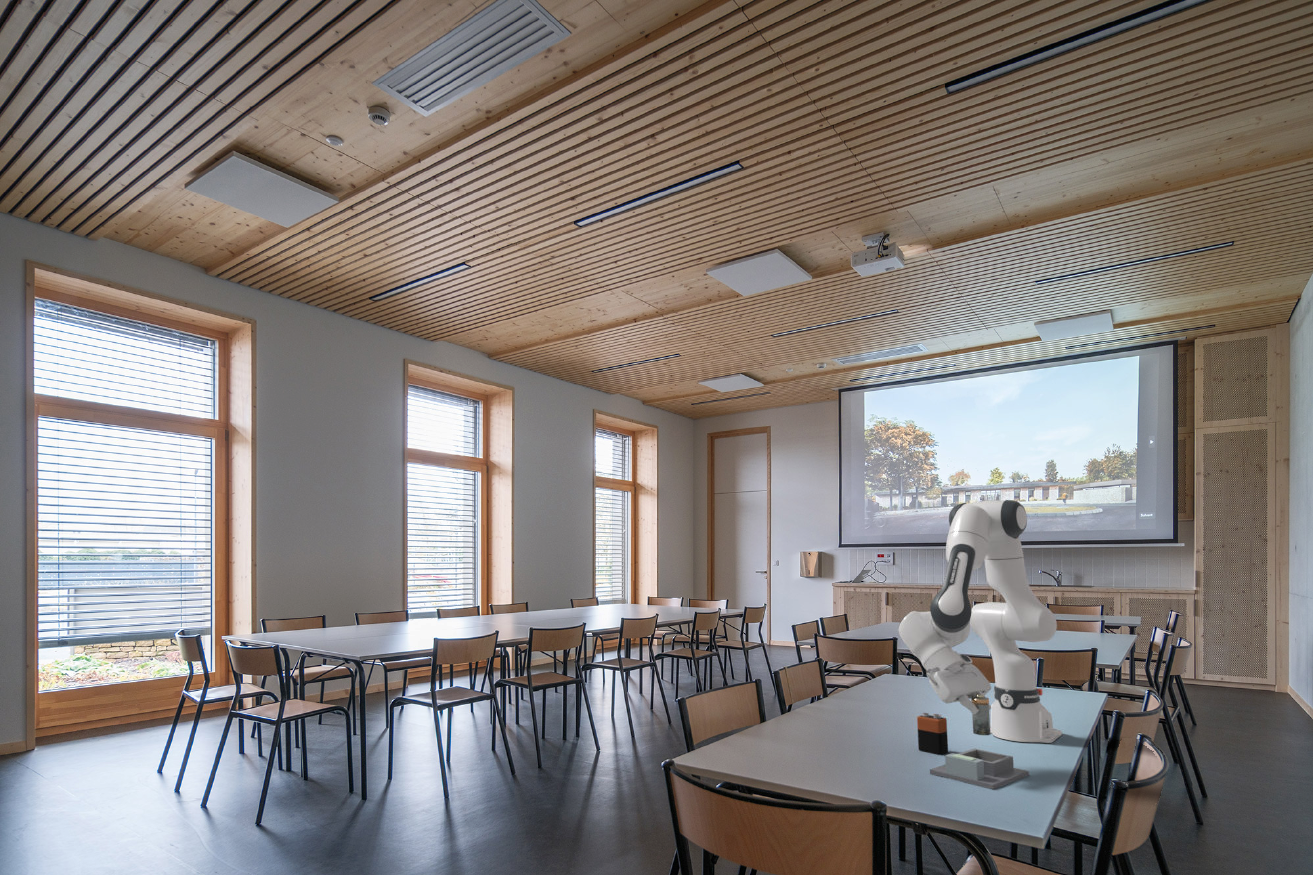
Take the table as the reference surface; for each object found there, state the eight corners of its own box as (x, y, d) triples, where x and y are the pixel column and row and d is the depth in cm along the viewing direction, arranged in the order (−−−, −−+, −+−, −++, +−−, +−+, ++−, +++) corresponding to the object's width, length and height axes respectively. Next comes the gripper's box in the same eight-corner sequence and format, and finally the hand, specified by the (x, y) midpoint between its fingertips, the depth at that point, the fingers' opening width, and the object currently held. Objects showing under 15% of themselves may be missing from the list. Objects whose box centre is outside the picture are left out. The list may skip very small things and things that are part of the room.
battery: (941, 755, 204) (939, 716, 206) (917, 750, 209) (916, 712, 211) (948, 752, 207) (947, 714, 208) (925, 747, 212) (924, 710, 213)
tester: (967, 761, 198) (966, 740, 199) (1029, 775, 186) (1027, 753, 187) (930, 773, 187) (929, 751, 188) (993, 789, 175) (991, 765, 176)
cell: (978, 730, 192) (976, 693, 194) (993, 733, 189) (991, 695, 191) (969, 733, 190) (967, 694, 191) (985, 736, 187) (983, 697, 188)
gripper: (930, 662, 191) (969, 708, 182) (972, 655, 204) (1010, 699, 195) (915, 677, 194) (953, 724, 185) (957, 670, 206) (994, 714, 198)
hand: (983, 711), depth 190 cm, fingers closed on cell, 4 cm apart
